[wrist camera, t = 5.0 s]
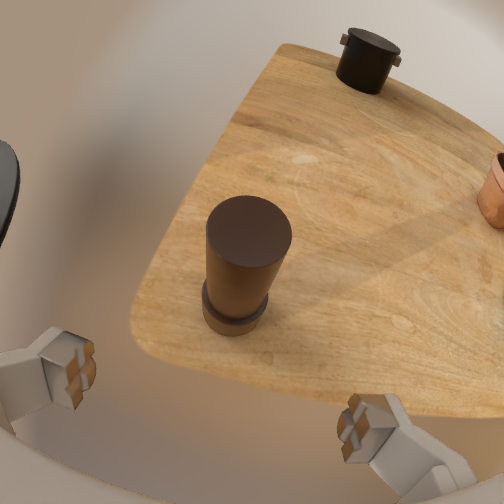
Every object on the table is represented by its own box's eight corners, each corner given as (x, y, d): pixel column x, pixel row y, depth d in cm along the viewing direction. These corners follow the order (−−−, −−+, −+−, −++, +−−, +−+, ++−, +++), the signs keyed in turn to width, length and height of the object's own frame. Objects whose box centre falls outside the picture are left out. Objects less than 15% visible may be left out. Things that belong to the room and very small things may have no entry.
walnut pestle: (194, 324, 19) (181, 254, 11) (214, 274, 21) (220, 178, 13) (250, 344, 19) (286, 290, 11) (267, 292, 21) (307, 207, 13)
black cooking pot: (328, 80, 39) (343, 33, 31) (332, 62, 43) (345, 22, 36) (387, 103, 39) (407, 60, 31) (384, 82, 43) (400, 45, 35)
